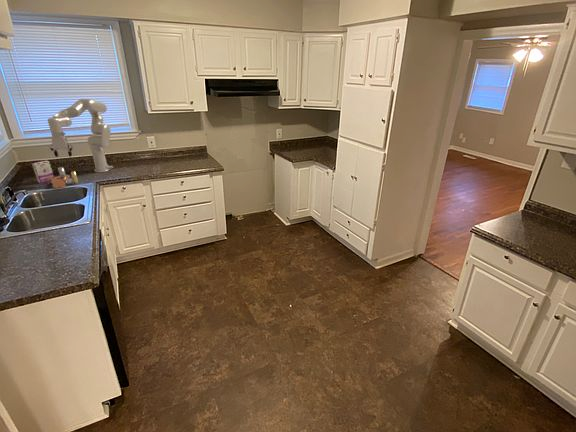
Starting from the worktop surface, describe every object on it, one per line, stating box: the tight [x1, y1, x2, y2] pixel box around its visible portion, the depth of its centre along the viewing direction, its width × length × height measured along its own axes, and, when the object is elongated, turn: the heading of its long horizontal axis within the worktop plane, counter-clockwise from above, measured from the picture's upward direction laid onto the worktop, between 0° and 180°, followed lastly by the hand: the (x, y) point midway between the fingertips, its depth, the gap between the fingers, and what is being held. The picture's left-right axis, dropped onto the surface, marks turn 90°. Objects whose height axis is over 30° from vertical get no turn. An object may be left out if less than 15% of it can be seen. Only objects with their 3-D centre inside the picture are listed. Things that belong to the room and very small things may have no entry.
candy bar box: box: [31, 160, 55, 184], centre depth 255 cm, size 11×5×16 cm, turn 148°
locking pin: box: [70, 171, 80, 185], centre depth 253 cm, size 3×3×10 cm
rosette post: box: [50, 166, 73, 189], centre depth 252 cm, size 10×20×12 cm, turn 20°
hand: (63, 156), depth 248 cm, fingers open, 9 cm apart
